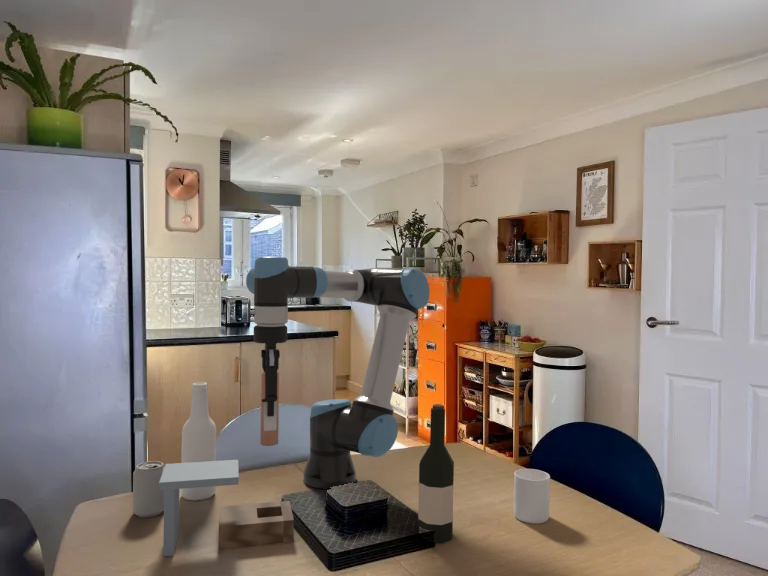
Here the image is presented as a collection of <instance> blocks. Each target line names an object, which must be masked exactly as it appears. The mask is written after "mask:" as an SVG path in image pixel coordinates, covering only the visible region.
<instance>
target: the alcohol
mask: <svg viewBox="0 0 768 576" xmlns="http://www.w3.org/2000/svg"><path fill="white" fill-rule="evenodd" d="M191 386H192V387H191V391H192V392H191V404H190V413H189V417H188V419H187V420H186V421H185V423H184V424H183V426H182V430H181V462H180V463H190V462H206V461H217V426H216V423H215V421H214V420H213V419H212V418H211V417H210V413H209V400H208V397H209V396H208V389H209V388H208V382H205V381H198V382H193V383H191ZM216 488H217V486H211V487H197V488H183V489H180V495H181V497H182V498H183V499H184V500H186V501H189V500H193V501H192V502H198V501H199V500H200V501H204V499H205V500H208V499H211V498H212V497H213V496H214V494H215V493H216V491H217V490H216ZM197 500H198V501H197Z"/></svg>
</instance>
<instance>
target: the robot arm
mask: <svg viewBox="0 0 768 576" xmlns="http://www.w3.org/2000/svg"><path fill="white" fill-rule="evenodd" d="M245 279H246V280H245V282H246V283H245V284H246V287H247V290H248V291H249V292H250V293H251V295H253V308H254V309H252V310H251V312H250V313H251V314H252V315H253V323H254V324H256V325H254V326H253V341H254V342H255V343H256V344H257V343H258V344H264V349H261V351H260V352H261V353H260V356H261V357H260V358H261V366H262V371H263V373H264V372H265V398H264V399H262V402H264V431H269V430H276V416H277V401H276V400H277V399H278V396H277V372H278V370H279V359H280V355H281V353H280V349H277V344H282V343H286V342H287V341H288V326H287V325H286V324H287V323H288V320H289V318H288V317H289V311H288V310H289V308H288V307H289V303H288V302H289V301H288V300H289V299H294V298H296V299H305V298H308V299H309V298H310V299H313V298H327V299H329V298H332V299H333V298H335V299H344V300H345V301H347V302H352V303H353V302H354V303H361V304H365V305H366V304H367V305H372V306H376V307H377V310H378V312H379V313H380V317H379V320H378V323H377V328H376V331H375V332H376V333H375V336H374V340H373V344H372V346H371V347H372V348H371V352H370V356H369V359H368V364H367V366H366V367H367V368H366V371H365V376H364V378H363V383H362V386H361V391H360V394H359V396H357V397H355V398H353V400H352V401H351V400H350V399H348V398H335V399H333V398H332V399H325V400H319V401H317V402H314V403H313V404H312V405H311V406H310V407H311V408H310V416H309V455H308V459H307V461H306V464H305V467H304V469H303V470H304V471H303V478H302V479H303V483H304V484H305V485H307V486H309V487H311V488H315V489H321V488H323V489H321V490H328V489H327V488H330V487H333V486H339V485H344V484H348V483H352V482H354V483H355V482H356V480H357V479H356V478H357V473H356V472H357V471H356V468H355V465H354V461H353V459H352V455H351V452H353V453H356V454H361V455H362V456H366V457H373V458H379V457H382V456H385V454H387V452H389V451H390V450H391V449H392V447H393V446H394V444H395V442H396V440H397V438H398V434H399V433H398V432H399V427H398V422H397V419H396V418H395V416H393V415H394V411H395V409H394V407H393V406H392V404H391V399H392V396H393V392H394V387H395V383H396V379H397V375H398V371H399V367H400V362H401V359H402V354H403V350H404V346H405V341H406V337H407V333H408V328H409V326H410V322H411V321H412V320H414V319H416V317H417V315H418V314H417V313H418V310H421V309H423V308H424V309H425V307H426V305H428V303H429V300H430V294H431V293H430V292H431V291H430V285H429V281H428V279H427V276H426V274H424V272H423V271H422V270H420V269H418V268H413V267H408V266H407V267H406V266H405V267H374V268H373V267H371V268H364V269H363V268H361V269H348V270H346V271H334V270H324V269H323V268H321V267H319V266H317V267H316V266H314V265H313V266H301V265H300V266H297V265H296V266H290V265H289V259H288V258H287V257H285V256H283V257H282V256H258V257H257V258H256V259H255V260H254V267H253V268H251V269H250V270H249V271H248V272H247V274H246V278H245ZM254 342H253V343H254Z"/></svg>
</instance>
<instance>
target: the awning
mask: <svg viewBox="0 0 768 576" xmlns="http://www.w3.org/2000/svg"><path fill="white" fill-rule="evenodd" d="M164 467H165V468H164V470H163V473H162V476H161V479H160V481H159V490H164V510H163V544H162V545H163V549H162V551H163V555H162V557H173V556H174V554H175V550H176V545H177V541H178V537H179V533H180V492H181V489H183V488H197V487H211V486H216V487H222V486H237V485H239V480H240V479H239V473H240V472H239V459H225V460H216V461H206V462H190V463H181V462H178V463H165V464H164Z"/></svg>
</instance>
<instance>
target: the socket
mask: <svg viewBox="0 0 768 576" xmlns="http://www.w3.org/2000/svg"><path fill="white" fill-rule="evenodd" d="M294 520H295V519H294V514H293V510H292V507H291V502H290V501H289V500H282V501H271V502H258V503H257V502H256V503H248V504H245V503H244V504H235V505H234V504H233V505H224V506H223V505H222V506H219V518H218V545H217V546H218V547H217V548H218V549H217V551H221V550H229V549H230V550H231V549H240V548H251V547H252V548H253V547H262V546H271V545H281V544H290V543H294V539H295V538H294V535H295V528H294V527H295V521H294Z"/></svg>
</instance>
